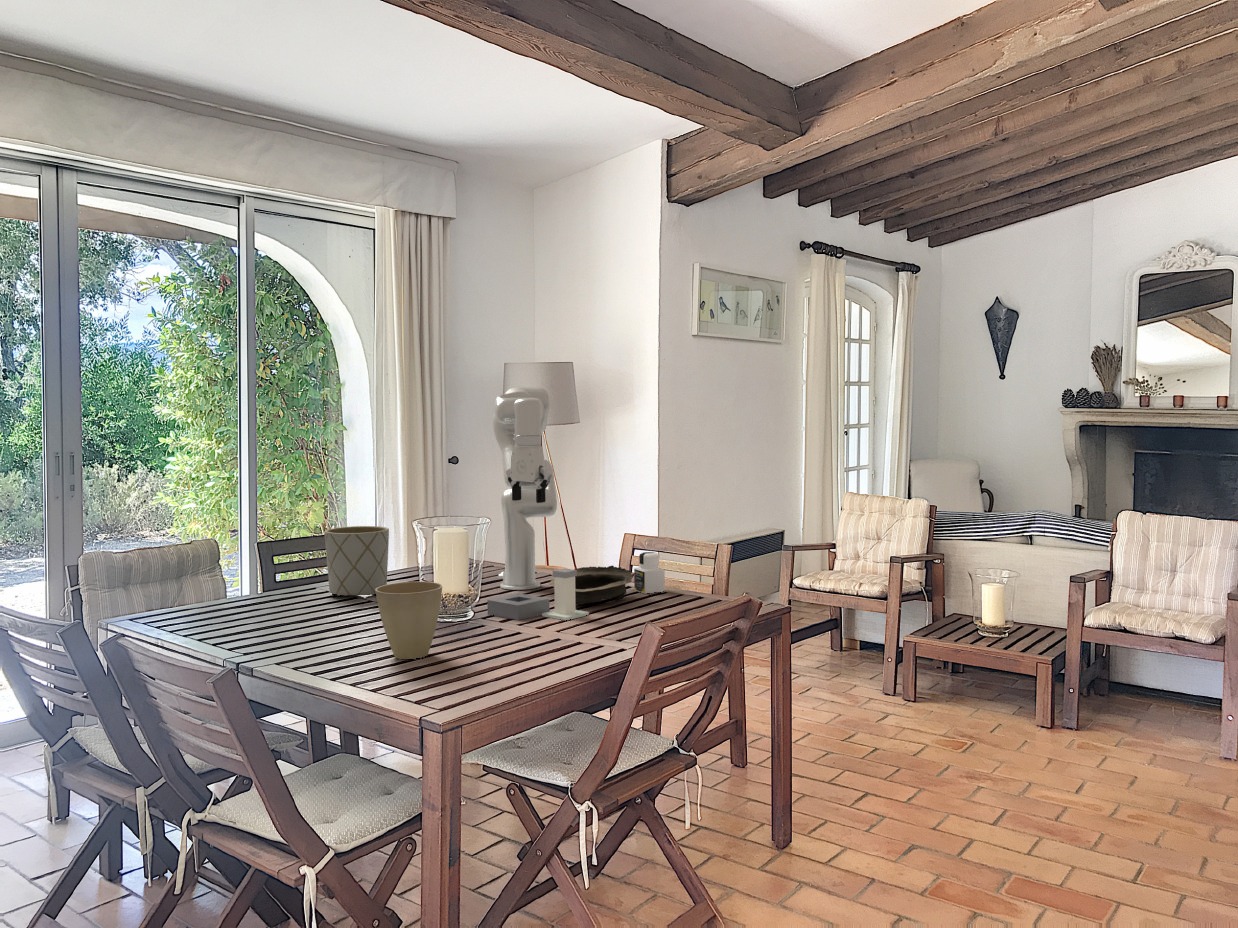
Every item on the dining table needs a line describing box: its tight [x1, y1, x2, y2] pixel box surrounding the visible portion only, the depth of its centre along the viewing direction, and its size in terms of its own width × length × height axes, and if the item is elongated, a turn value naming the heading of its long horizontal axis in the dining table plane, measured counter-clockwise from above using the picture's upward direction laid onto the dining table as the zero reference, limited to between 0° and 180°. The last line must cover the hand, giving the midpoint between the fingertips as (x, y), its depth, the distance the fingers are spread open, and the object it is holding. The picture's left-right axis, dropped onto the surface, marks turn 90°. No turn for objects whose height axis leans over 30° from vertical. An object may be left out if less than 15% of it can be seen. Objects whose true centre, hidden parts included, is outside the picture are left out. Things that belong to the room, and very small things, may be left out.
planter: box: [324, 525, 390, 597], centre depth 297 cm, size 19×19×20 cm
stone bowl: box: [548, 565, 634, 606], centre depth 283 cm, size 25×25×9 cm
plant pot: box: [375, 581, 443, 660], centre depth 220 cm, size 15×15×16 cm
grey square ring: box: [486, 593, 550, 621], centre depth 266 cm, size 12×12×4 cm
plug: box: [552, 567, 577, 615], centre depth 263 cm, size 5×5×12 cm
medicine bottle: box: [633, 551, 666, 595], centre depth 298 cm, size 7×7×12 cm
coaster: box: [541, 609, 590, 621], centre depth 263 cm, size 9×9×1 cm
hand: (528, 501), depth 278 cm, fingers open, 9 cm apart
